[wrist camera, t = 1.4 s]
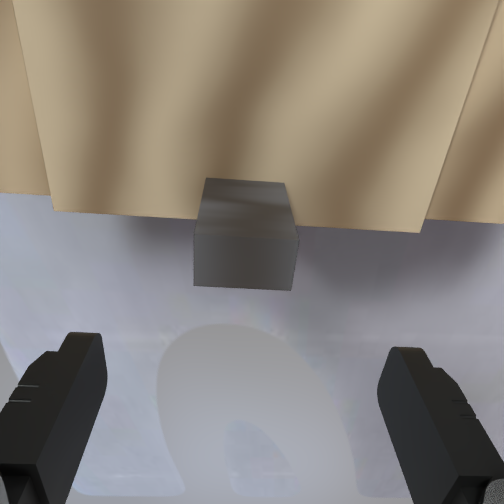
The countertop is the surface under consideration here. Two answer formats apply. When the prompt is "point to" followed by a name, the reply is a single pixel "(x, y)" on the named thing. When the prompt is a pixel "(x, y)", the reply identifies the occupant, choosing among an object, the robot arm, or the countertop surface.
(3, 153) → the carton
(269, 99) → the lid flap
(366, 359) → the countertop surface
